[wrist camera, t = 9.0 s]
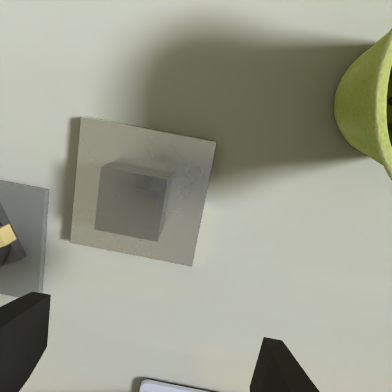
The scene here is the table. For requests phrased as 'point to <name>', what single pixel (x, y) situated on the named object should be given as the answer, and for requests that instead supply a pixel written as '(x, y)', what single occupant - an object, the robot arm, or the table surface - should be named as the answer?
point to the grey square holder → (140, 190)
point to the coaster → (25, 237)
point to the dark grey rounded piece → (9, 241)
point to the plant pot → (368, 103)
